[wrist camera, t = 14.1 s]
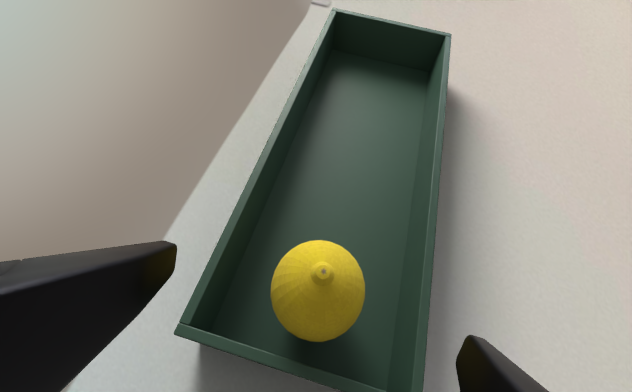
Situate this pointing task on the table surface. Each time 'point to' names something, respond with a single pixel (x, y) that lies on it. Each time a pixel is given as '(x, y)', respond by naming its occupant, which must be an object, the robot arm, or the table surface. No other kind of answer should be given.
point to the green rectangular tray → (341, 208)
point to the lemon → (317, 291)
